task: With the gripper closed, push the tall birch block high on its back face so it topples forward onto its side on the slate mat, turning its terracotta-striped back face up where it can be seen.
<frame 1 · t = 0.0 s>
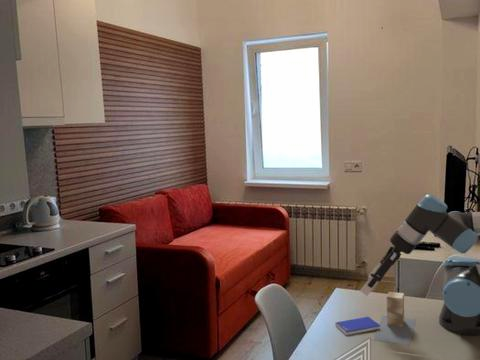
hand: (367, 286, 156), 15 cm above the table, tool tilted 35°, fingers open, 13 cm apart
birch block: (395, 323, 161), resting on slate mat
hard drive: (357, 328, 160), on the table, touching slate mat
slate mat: (395, 330, 157), on the table
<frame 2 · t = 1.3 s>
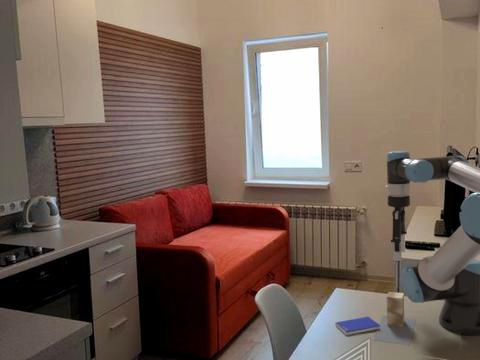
hand: (399, 255, 170), 21 cm above the table, tool pointing down, fingers open, 10 cm apart
nothing on the table moved.
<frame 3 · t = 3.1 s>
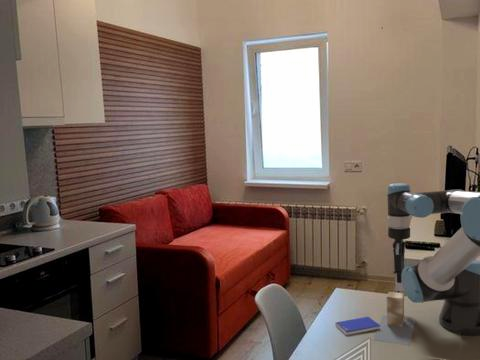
hand: (399, 290, 171), 8 cm above the table, tool pointing down, fingers closed
nothing on the table moved.
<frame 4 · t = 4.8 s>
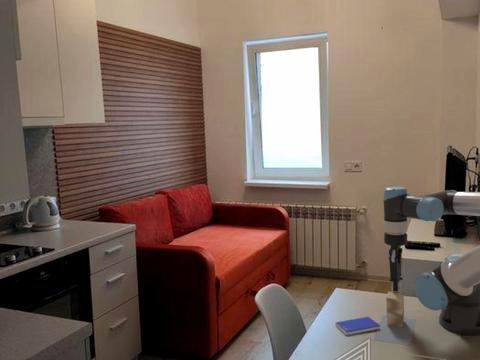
hand: (396, 298, 163), 8 cm above the table, tool pointing down, fingers closed
birch block: (395, 322, 161), point 1 cm above the table, tilted 6°, touching gripper, slate mat
everything else where it was.
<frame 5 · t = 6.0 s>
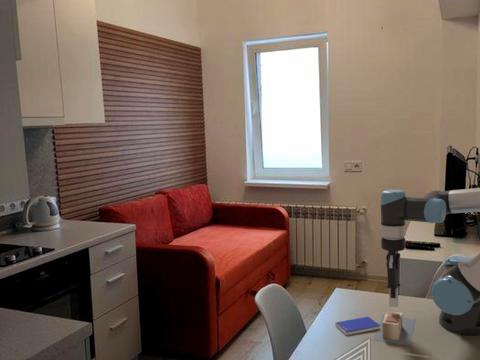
hand: (393, 305, 157), 8 cm above the table, tool pointing down, fingers closed
birch block: (394, 319, 159), point 3 cm above the table, tilted 90°, touching slate mat
everything else where it was.
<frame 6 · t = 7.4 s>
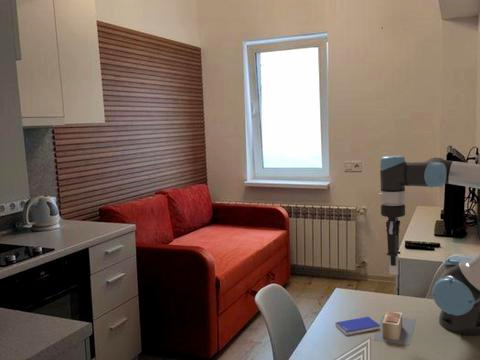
hand: (393, 273, 155), 19 cm above the table, tool pointing down, fingers closed
nothing on the table moved.
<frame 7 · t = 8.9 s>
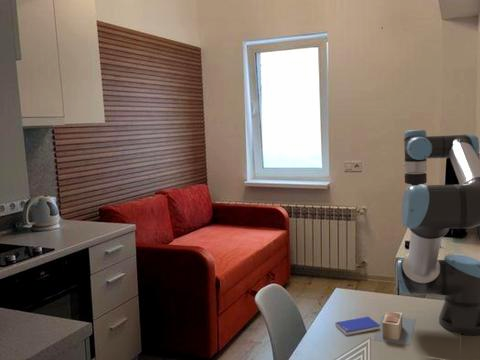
hand: (415, 235, 174), 26 cm above the table, tool pointing down, fingers closed
nothing on the table moved.
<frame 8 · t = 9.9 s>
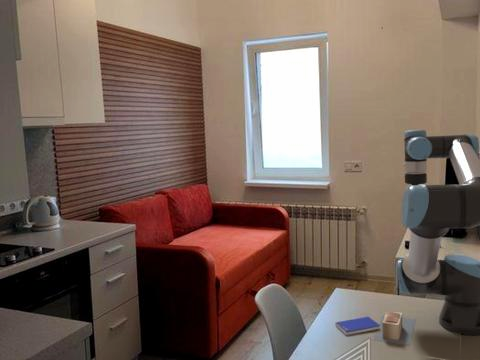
hand: (415, 235, 174), 26 cm above the table, tool pointing down, fingers closed
nothing on the table moved.
at the end: birch block tilted 90°; birch block inside the target area (2.5 cm from its centre), point 2.9 cm above the table; hard drive moved 0.0 cm from its start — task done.
